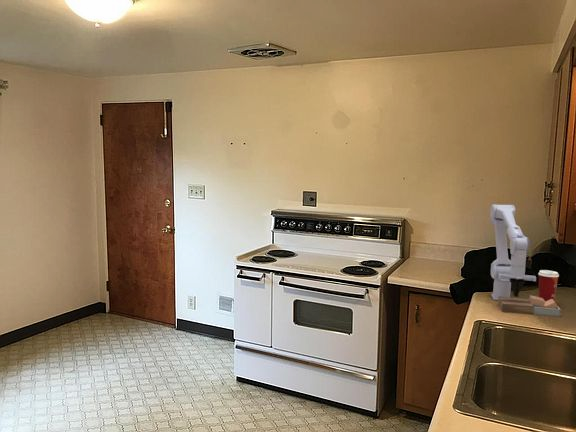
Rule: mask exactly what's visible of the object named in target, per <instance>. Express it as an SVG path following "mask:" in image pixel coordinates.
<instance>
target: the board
mask: <svg viewBox="0 0 576 432" xmlns="http://www.w3.org/2000/svg"><path fill="white" fill-rule="evenodd" d="M497 306H498V307H499V309H500V310H501V312H503V313H511V314H520V315H521V314H523V315H534V314H533V310H534V306H533V305H532V304H531V303H530V302H529V298H523V297H511V296H510V297H499V296H498V300H497Z"/></svg>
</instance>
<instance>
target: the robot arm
mask: <svg viewBox="0 0 576 432" xmlns="http://www.w3.org/2000/svg"><path fill="white" fill-rule="evenodd" d="M489 215H490V218H489V219H490V223H491V224H492V225H494V236H495V248H496V249H495V250H496V259H495V260H493V261H492V263H490V276H491V278H492V279H493V290H492V293H490V296H491V298H492V299H493V300H494V301H498V296H499V297H511V292H513V297H514V298H519V293H520V291H521V290H522V287H523V286H524V284H525V281H528V282H529V281H530V282H531V281H532V282H537V277H536V275H528V274H525V273H526V263H527V262H526V261H527V252H528V251H529V249H530V240H529V237H526V236H525V235H524V233H523V232H522V229H521V227H520V226H519V225H517V223H516V220H515V219H516V218H515V215H516V207H515V205H514V204H494V203H493V204H492V205H491V206H490V209H489ZM507 236H508V239H509V247H508V239H507ZM508 248H509V249H510V250H509V251H510V254H511V255H510V259H509V252H508ZM511 289H512V291H511Z"/></svg>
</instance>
